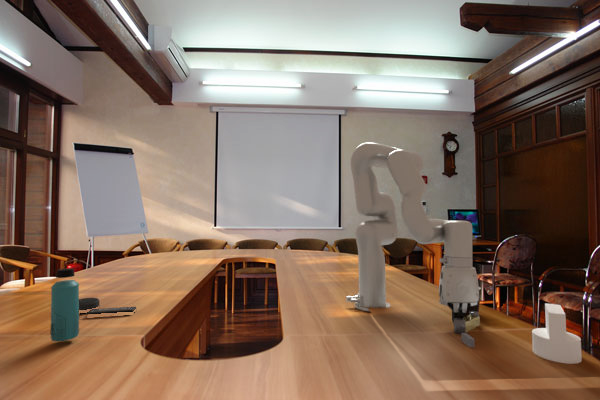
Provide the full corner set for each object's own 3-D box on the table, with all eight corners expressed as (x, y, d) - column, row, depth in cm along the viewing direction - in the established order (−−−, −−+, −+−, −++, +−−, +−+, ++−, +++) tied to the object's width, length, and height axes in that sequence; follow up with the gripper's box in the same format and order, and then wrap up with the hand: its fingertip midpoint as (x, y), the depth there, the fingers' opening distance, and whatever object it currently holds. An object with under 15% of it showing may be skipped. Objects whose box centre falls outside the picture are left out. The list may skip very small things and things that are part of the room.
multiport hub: (132, 316, 114) (132, 309, 114) (86, 319, 111) (86, 312, 111) (136, 312, 118) (136, 306, 119) (91, 315, 116) (91, 309, 116)
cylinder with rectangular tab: (585, 373, 71) (583, 316, 71) (534, 364, 76) (532, 310, 76) (578, 358, 78) (576, 306, 79) (531, 350, 83) (530, 301, 84)
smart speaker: (89, 315, 115) (89, 303, 116) (63, 315, 116) (64, 303, 116) (104, 307, 124) (104, 297, 124) (81, 308, 124) (81, 297, 125)
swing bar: (462, 335, 90) (462, 320, 90) (452, 332, 92) (451, 318, 92) (481, 325, 97) (480, 312, 97) (471, 323, 99) (471, 310, 99)
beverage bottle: (84, 339, 92) (86, 267, 93) (60, 349, 86) (62, 271, 87) (68, 337, 94) (69, 266, 95) (43, 346, 88) (44, 270, 89)
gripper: (437, 264, 95) (437, 329, 94) (490, 264, 94) (490, 329, 94) (427, 260, 102) (427, 320, 102) (476, 260, 102) (477, 320, 102)
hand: (458, 324), depth 98 cm, fingers closed
